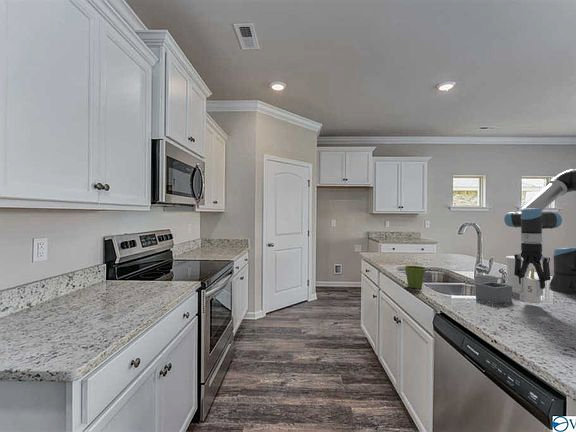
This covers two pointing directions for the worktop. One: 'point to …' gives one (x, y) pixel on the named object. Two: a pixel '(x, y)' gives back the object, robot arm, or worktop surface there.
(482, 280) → the teacup
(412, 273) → the plant pot
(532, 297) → the candle
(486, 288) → the slate holder
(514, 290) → the decorative container
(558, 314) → the worktop surface
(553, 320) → the worktop surface
